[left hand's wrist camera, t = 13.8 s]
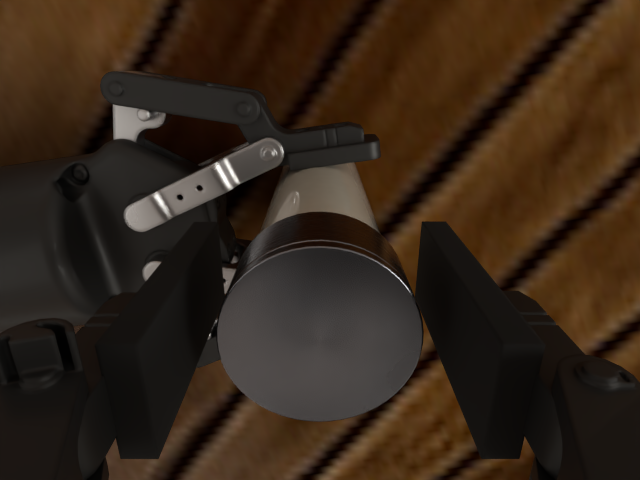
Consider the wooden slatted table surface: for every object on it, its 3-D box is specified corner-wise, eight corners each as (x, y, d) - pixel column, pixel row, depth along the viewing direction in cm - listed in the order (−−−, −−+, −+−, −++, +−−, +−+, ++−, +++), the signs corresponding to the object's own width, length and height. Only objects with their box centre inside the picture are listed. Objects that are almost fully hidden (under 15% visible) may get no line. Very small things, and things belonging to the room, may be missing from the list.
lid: (322, 173, 11) (323, 201, 9) (439, 293, 12) (466, 345, 10) (199, 289, 12) (172, 339, 10) (317, 387, 13) (316, 451, 11)
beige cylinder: (371, 166, 25) (443, 304, 10) (329, 225, 26) (342, 421, 12) (308, 123, 24) (291, 211, 9) (268, 187, 25) (200, 348, 11)
